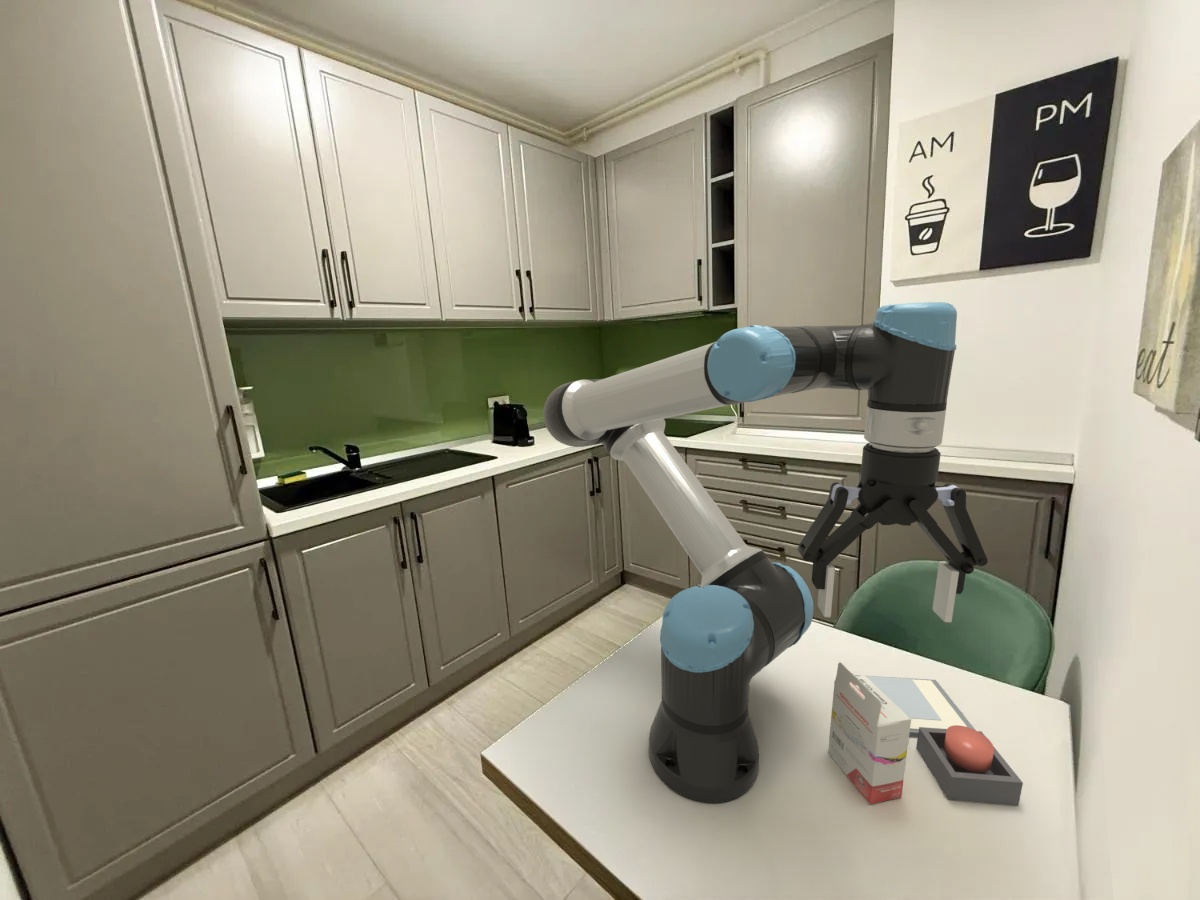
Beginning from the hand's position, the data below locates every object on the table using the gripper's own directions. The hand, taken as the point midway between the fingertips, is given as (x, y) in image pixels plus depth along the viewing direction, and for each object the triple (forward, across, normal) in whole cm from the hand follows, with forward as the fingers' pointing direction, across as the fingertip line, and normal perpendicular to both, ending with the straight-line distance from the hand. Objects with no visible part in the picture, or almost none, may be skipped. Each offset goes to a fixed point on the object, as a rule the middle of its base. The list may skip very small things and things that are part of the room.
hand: (881, 613), depth 60 cm
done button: (+21, +13, +1) cm, 24 cm away
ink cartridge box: (+24, 0, 0) cm, 24 cm away
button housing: (+24, +13, +1) cm, 27 cm away
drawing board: (+24, +11, +13) cm, 29 cm away
